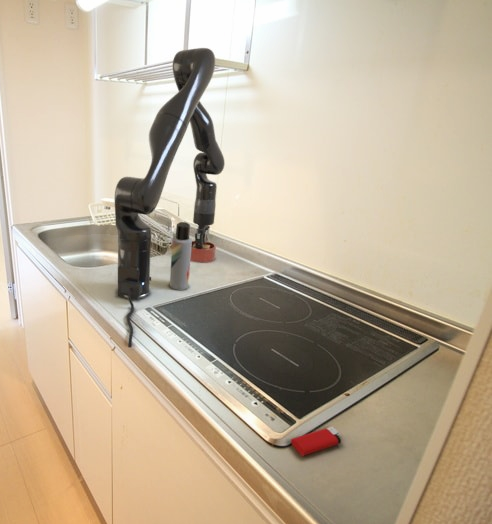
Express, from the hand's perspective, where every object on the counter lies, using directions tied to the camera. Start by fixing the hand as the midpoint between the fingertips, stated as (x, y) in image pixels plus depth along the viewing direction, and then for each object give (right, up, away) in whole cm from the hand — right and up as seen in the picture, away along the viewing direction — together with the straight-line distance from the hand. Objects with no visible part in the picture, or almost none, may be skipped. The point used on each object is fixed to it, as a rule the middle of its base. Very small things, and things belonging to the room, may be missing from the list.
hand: (200, 255), depth 137 cm
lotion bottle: (-11, -10, -25) cm, 29 cm away
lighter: (+6, -32, -79) cm, 86 cm away
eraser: (0, 0, 0) cm, 0 cm away
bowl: (0, -1, 0) cm, 1 cm away
